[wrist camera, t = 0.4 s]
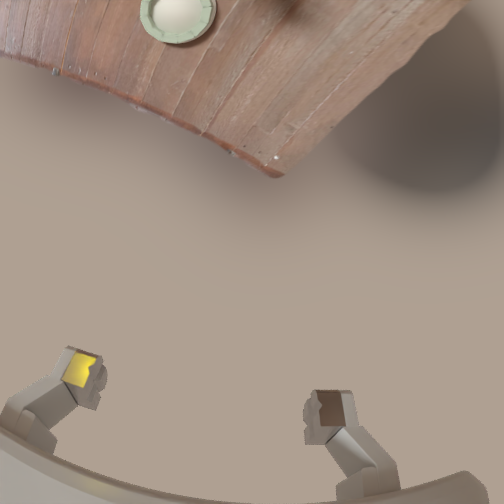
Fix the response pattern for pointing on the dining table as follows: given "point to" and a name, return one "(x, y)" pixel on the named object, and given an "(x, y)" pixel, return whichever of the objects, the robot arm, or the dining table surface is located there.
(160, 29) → the green rimmed plate
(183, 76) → the dining table surface
